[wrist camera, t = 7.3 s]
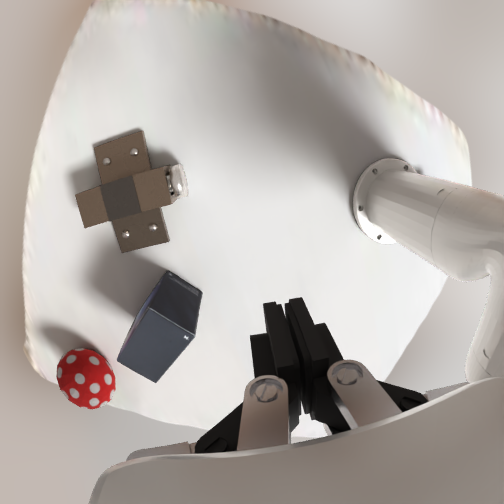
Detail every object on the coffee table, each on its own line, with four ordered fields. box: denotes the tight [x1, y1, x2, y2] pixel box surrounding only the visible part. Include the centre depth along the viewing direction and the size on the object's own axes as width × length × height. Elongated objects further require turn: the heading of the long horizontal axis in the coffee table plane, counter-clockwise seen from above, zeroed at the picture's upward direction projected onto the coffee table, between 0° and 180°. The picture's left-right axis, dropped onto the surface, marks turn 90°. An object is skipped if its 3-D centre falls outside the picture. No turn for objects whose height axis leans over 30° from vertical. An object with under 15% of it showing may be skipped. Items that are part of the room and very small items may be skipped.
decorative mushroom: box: [57, 348, 116, 409], centre depth 40 cm, size 11×11×15 cm
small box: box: [117, 271, 203, 383], centre depth 35 cm, size 11×6×10 cm, turn 142°
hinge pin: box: [166, 164, 188, 199], centre depth 32 cm, size 14×4×4 cm, turn 100°
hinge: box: [75, 131, 177, 253], centre depth 32 cm, size 12×15×4 cm
